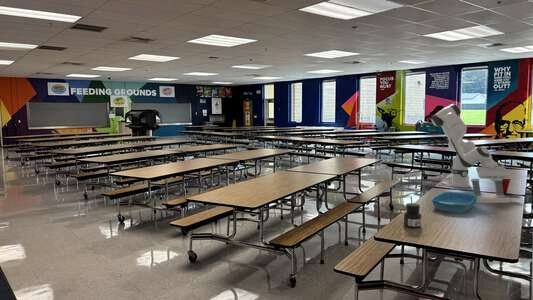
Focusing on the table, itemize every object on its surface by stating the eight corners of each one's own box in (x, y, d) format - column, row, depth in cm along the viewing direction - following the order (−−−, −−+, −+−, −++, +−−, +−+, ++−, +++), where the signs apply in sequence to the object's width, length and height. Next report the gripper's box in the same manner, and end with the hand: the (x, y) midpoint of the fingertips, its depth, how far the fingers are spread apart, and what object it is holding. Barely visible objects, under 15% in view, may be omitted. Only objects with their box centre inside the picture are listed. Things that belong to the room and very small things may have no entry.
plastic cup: (505, 191, 291) (506, 175, 290) (513, 194, 281) (514, 178, 280) (491, 191, 293) (491, 175, 291) (498, 194, 282) (498, 178, 281)
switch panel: (467, 198, 269) (467, 193, 269) (497, 197, 270) (497, 193, 270) (478, 203, 256) (479, 198, 255) (510, 202, 256) (510, 197, 256)
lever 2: (496, 195, 263) (493, 178, 266) (502, 195, 264) (500, 178, 266) (498, 195, 261) (496, 178, 263) (504, 195, 261) (502, 178, 263)
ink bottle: (409, 229, 201) (410, 207, 199) (399, 224, 209) (400, 203, 208) (425, 227, 203) (426, 205, 202) (414, 223, 212) (415, 202, 211)
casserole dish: (465, 217, 223) (465, 205, 223) (426, 210, 238) (427, 199, 238) (480, 205, 251) (481, 194, 250) (445, 200, 265) (445, 190, 265)
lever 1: (473, 196, 263) (471, 179, 266) (479, 196, 263) (477, 179, 266) (475, 195, 261) (472, 178, 264) (481, 195, 261) (479, 178, 264)
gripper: (477, 164, 271) (484, 180, 263) (505, 164, 272) (513, 179, 263) (473, 169, 276) (480, 185, 268) (500, 169, 277) (508, 184, 268)
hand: (497, 182), depth 265 cm, fingers closed, pressing on lever 2
